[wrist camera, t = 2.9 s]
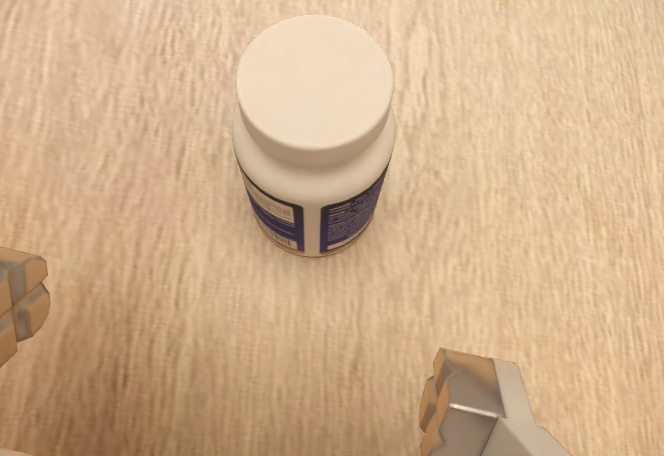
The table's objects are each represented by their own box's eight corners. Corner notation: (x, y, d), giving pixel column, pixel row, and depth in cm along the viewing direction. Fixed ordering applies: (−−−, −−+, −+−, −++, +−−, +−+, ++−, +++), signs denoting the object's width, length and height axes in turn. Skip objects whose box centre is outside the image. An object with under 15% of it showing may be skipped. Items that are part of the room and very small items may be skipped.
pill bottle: (368, 144, 26) (403, -5, 16) (378, 256, 24) (425, 162, 14) (251, 149, 25) (217, -1, 16) (253, 262, 23) (215, 171, 14)
